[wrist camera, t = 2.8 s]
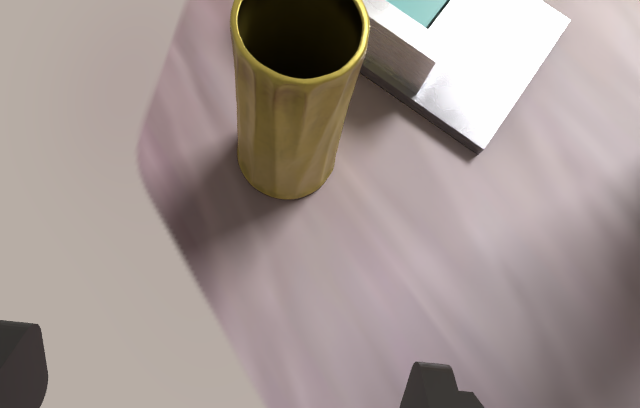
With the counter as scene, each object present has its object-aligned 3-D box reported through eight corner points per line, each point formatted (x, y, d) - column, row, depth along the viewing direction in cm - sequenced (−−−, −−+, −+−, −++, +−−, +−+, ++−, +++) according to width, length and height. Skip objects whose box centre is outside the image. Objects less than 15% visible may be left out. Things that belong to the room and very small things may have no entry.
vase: (324, 210, 33) (366, 113, 19) (226, 187, 32) (197, 73, 19) (343, 121, 34) (395, -28, 21) (250, 98, 34) (240, -67, 20)
